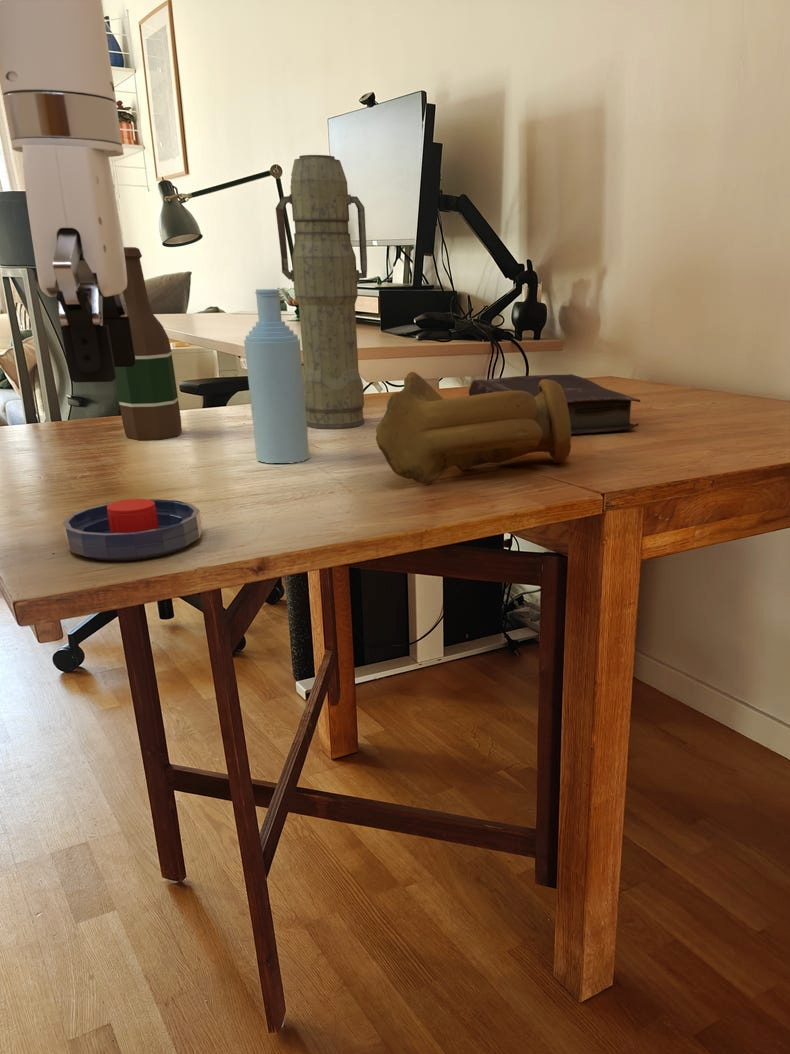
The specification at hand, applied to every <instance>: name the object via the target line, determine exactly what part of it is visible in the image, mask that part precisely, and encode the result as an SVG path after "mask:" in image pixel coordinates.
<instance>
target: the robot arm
mask: <svg viewBox="0 0 790 1054" xmlns="http://www.w3.org/2000/svg"><path fill="white" fill-rule="evenodd" d="M109 49H110V48H109V41H108V36H107V29H106V21H105V15H104V7H103V0H0V90H1V95H2V101H3V106H4V112H5V116H6V122H7V128H8V132H9V133H8V134H9V138H10V144H11V148H12V150H13V151H14V152H17V153H22V169H23V180H24V189H25V197H26V205H27V212H28V213H27V214H28V219H29V227H30V234H31V240H32V246H33V254H34V261H35V268H36V274H37V281H38V286H39V288H40V291H41V292H42V293H43V294H45V295H46V296H47V297H49V298H56V300H57V302H58V318H59V323H60V325H61V326H60V331H61V336H62V341H63V348H64V353H65V358H66V363H67V364H66V365H67V370H68V374H69V375H68V376H69V379H70V380H71V381H72V383H110V382H114V381H115V378H116V372H115V367H132V366H134V365H135V363H136V359H135V352H134V346H133V339H132V332H131V326H130V319H129V317H121V316H127V307H126V303H125V299H124V296H123V291H124V290H125V289H126V288H127V272H126V263H125V255H124V247H125V246H124V241H123V234H122V226H121V222H120V221H121V220H120V215H119V209H118V203H117V197H116V196H117V195H116V191H115V189H116V188H115V184H114V179H113V178H114V177H113V173H112V168H111V163H110V162H111V161H110V158H113V157H121V156H124V155H125V153H124V146H123V141H122V134H121V127H120V126H121V125H120V119H119V112H118V106H117V105H118V104H117V97H116V92H115V85H114V78H113V77H114V76H113V71H112V63H111V56H110V51H109Z"/></svg>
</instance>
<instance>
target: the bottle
mask: <svg viewBox="0 0 790 1054" xmlns="http://www.w3.org/2000/svg"><path fill="white" fill-rule="evenodd" d="M280 292H281V291H280V289H279V288H257V289H255V292H254V294H255V296H256V306H257V307H256V308H257V316H258V317H257V318H258V321H256V322H255V325H254V326H252V330H249V331H248V334H247V335H245V339H244V341H243V345H244V353H245V354H244V355H245V362H246V371H247V382H248V392H249V400H250V401H249V402H250V409H251V419H252V428H253V436H254V438H253V439H254V447H255V454H256V455H255V456H256V461H257V460H258V461H261V462H268V463H290V462H298V461H303V460H306V459H308V458H309V459H310V449H309V436H308V435H309V433H308V426H307V422H306V409H305V397H304V385H303V376H304V372H303V360H302V351H301V350H302V348H301V339H299V336H298V334H296V333H295V332H294V330H293V329H290V325H286V321H284V320H283V319H282V309H281V298H280V296H281V293H280ZM309 459H308V460H309ZM258 461H257V462H258ZM306 461H307V460H306ZM261 462H260V463H261ZM303 462H304V461H303ZM298 463H299V462H298Z"/></svg>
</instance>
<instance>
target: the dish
mask: <svg viewBox="0 0 790 1054" xmlns="http://www.w3.org/2000/svg"><path fill="white" fill-rule="evenodd" d="M149 500H152V501H154V502H155V507H156V511H157V517H158V523H159V528H158V529H152V530H145V531H138V532H129V533H111V531H110V526H109V520H108V515H107V513H108V511H107V506H108V505H109V504H111V503H112V502H109V503H103V504H100V505H95V506H92V507H87V508H84V509H81V510H78V511H76V512H73V513H72V514H69V515H68V516H67V517H66V518H65V519H64V520H63V521H62V522H61V525H62V530H63V535H64V540H65V544H66V547H67V549H68V550H69V551H70V552H71V553H74V554H76V555H80V556H83V557H85V558H89V559H92V560H97V561H107V562H118V561H119V562H124V561H137V560H138V561H139V560H146V559H151V558H152V559H153V558H157V557H161V556H165V555H169V554H172V553H175V552H178V551H180V550H183V549H185V548H186V547H188V546H189V545H190V544H192V543H193V542H195V541H197V540H199V539H200V538H201V535H202V533H203V526H202V519H201V512H200V509H199V508H198V507H197V506H195V505H194V504H193V503H189V502H185V501H180V500H175V499H159V498H158V499H157V498H153V499H149Z"/></svg>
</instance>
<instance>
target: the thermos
mask: <svg viewBox="0 0 790 1054" xmlns="http://www.w3.org/2000/svg"><path fill="white" fill-rule="evenodd" d="M291 170H292V171H291V173H290V176H291V177H290V187H289V188H290V194H289V195H286V196H282V197H281V198H280V200H279V201H278V204H277V205H276V206H275V215H276V224H277V225H276V226H277V234H278V241H279V250H280V259H281V262H280V263H281V273H282V274H283V275H284V277H286V278H287V279H288V280H289V281H291V282H292V283H293V293H294V298H295V299H296V302H297V304H298V314H299V324H300V325H299V326H300V337H301V339H300V340H301V350H302V351H301V352H302V365H303V385H304V397H305V409H306V422H307V427H308V428H313V429H320V430H321V429H322V430H339V429H340V430H341V429H351V428H356V427H359V426H363V425H364V424H365V419H364V406H365V395H364V394H365V393H364V384H363V380H362V377H361V375H360V370H359V355H358V335H357V334H358V333H357V316H356V302H357V299H358V298H359V293H358V291H359V290H358V282H360V280H361V279H362V280H363V279H367V277H368V252H367V251H368V249H367V231H366V212H365V211H366V210H365V208H366V207H365V206H364V205H363V203H362V202H361V200H360V199H359V197H358V196H355V195H351V194H349V191H348V190H349V188H348V180H347V177H346V173H345V171H344V168H343V165H342V162H341V160H340V159H337V158H336V157H335V156H333V155H327V154H303V155H302V154H301V155H299V156H298V158H295V159H294V160H293V165H292V169H291ZM287 204H290V205H291V213H292V222H294V230H295V231H294V233H293V236H294V244H293V248H292V252H291V268H292V269H291V270H289V269H290V268H289V258H288V250H287V249H288V247H287V235H286V234H287V233H286V225H285V212H284V211H285V208H286V206H287ZM352 204H355V207H356V209H357V224H358V247H359V263H360V265H359V266H360V270H359V269H357V256H356V254H355V250H354V248H353V245H352V242H351V241H352V240H351V233H349V222H350V208H349V207H350V206H351V205H352ZM349 205H350V206H349ZM360 271H361V272H360Z"/></svg>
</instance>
